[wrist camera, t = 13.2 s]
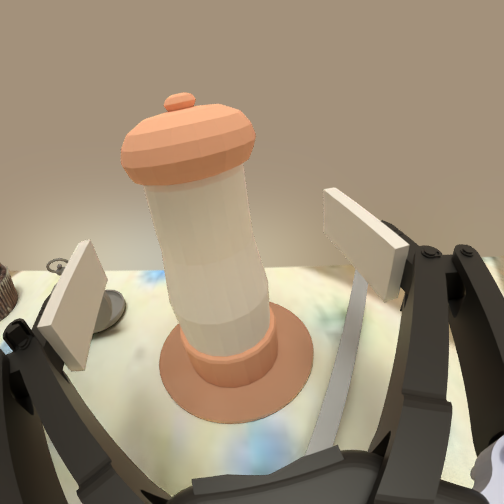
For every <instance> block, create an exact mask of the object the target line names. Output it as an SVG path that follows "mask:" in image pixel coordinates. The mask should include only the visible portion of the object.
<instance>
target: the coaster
mask: <svg viewBox="0 0 504 504" xmlns="http://www.w3.org/2000/svg"><path fill="white" fill-rule="evenodd" d="M269 306H270V307H271V308H272V310H273V313H274V315H275V318H276V327H277V339H278V355H277V358H276V361H275V363H274V365H273V367H272V368H271V369H270V370H269V371H268V372H267V373H266V375H265V376H264V377H262V378H261V379H259V380H257V381H255V382H253V383H251V384H249V385H245V386H240V387H236V388H231V387H219V386H216V385H213V384H211V383H208V382H206V381H205V380H204V379H203V378H201V377H200V376H199V375H198V374H197V372H196V371H195V369H194V367H193V365H192V363H191V361H190V359H189V357H188V355H187V352H186V350H185V348H184V346H183V344H182V341H181V335H180V327H181V326H180V324H178V325H177V326H176V327H175V328H174V329H173V330H172V331H171V333H170V334H169V336H168V337H167V339H166V341H165V343H164V345H163V348H162V350H161V354H160V361H159V368H160V375H161V379H162V382H163V384H164V386H165V388H166V390H167V391H168V393H169V394H170V396H171V397H172V398H173V400H174V401H175V402H176V403H177V404H178V405H179V406H180V407H181V408H183V409H184V410H186V411H187V412H189V413H190V414H192V415H194V416H196V417H198V418H201V419H204V420H207V421H211V422H217V423H226V424H235V423H245V422H250V421H255V420H258V419H261V418H264V417H267V416H269V415H271V414H273V413H275V412H277V411H278V410H280V409H281V408H283V407H285V406H286V405H287V404H288V403H289V402H291V401H292V400H293V399H294V398H295V397H296V396H297V395H298V393H299V392H300V391H301V390H302V388H303V387H304V385H305V384H306V382H307V380H308V377H309V375H310V372H311V368H312V364H313V344H312V340H311V336H310V334H309V332H308V330H307V328H306V327H305V325H304V324H303V322H302V321H301V320H300V319H299V318H298V317H297V316H296V315H294V314H293V313H292V312H290V311H289V310H287V309H286V308H284V307H282V306H280V305H277V304H274V303H272V302H269Z"/></svg>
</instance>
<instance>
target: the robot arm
mask: <svg viewBox="0 0 504 504" xmlns="http://www.w3.org/2000/svg"><path fill="white" fill-rule="evenodd" d="M323 208H324V209H323V215H324V219H323V223H324V224H323V233H324V234H325V235H326V236H327V237H328V238H329V239H330V240H331V241H332V243H333V244H334V245H335V246H336V247H337V248H338V249H339V250H340V251H341V253H342V254H343V255H344V256H345V257H346V258H347V259H348V260H349V262H350V263H351V264H352V265H353V266H354V267H355V269H356V270H357V271H358V272H359V273H360V274H361V276H362V277H363V278H364V279H365V280H366V281H367V283H368V284H369V285H370V286H371V287H372V289H373V290H374V291H375V292H376V293H377V295H378V296H379V297H380V298H381V299H382V301H383V302H384V303H385V302H387V301H390V300H393V299H396V298H398V294H399V290H400V287H401V288H402V289H403V290H404V291H405V295H404V299H403V302H402V306H401V309H400V311H402V316H401V323H400V330H399V336H398V343H397V348H396V354H395V359H394V364H393V369H392V374H391V379H390V383H389V387H388V392H387V396H386V400H385V404H384V407H383V411H382V415H381V418H380V422H379V425H378V428H377V431H376V434H375V436H374V438H373V440H372V442H371V445H370V447H369V450H368V452H367V451H360V450H343V451H340V449H339V447H338V445H336V446H333V447H330V448H327V449H325V450H322V451H319V452H316V453H313V454H310V455H306V456H303V457H301V458H300V459H298V460H296V461H294V462H293V463H291V464H289V465H287V466H285V467H283V468H281V469H279V470H277V471H276V472H274V473H272V474H269V475H229V474H227V475H220V476H213V477H206V478H197V479H192V485H193V486H191V487H188V488H186V489H184V490H182V491H180V492H179V493H177V494H176V495H174V496H173V497H171V496H170V495H168V494H167V493H166V492H165V491H163V490H162V489H160V488H159V487H158V486H156V485H155V484H154V483H153V482H152V481H151V480H150V479H149V478H148V477H147V476H146V475H145V474H144V473H143V472H142V471H141V470H140V469H139V468H138V467H137V466H136V465H135V464H134V463H133V462H132V461H131V460H130V459H129V458H128V457H127V455H126V454H125V453H124V452H123V451H122V450H121V449H120V447H119V446H118V445H117V444H116V443H115V442H114V440H113V439H112V438H111V437H110V436H109V434H108V433H107V432H106V431H105V429H104V428H103V427H102V425H101V424H100V423H99V422H98V420H97V419H96V418H95V416H94V415H93V413H92V412H91V411H90V409H89V408H88V407H87V405H86V404H85V402H84V401H83V399H82V398H81V396H80V395H79V393H78V392H77V390H76V389H75V387H74V386H73V384H72V383H71V381H70V379H69V378H68V376H67V375H66V374H65V372H64V371H63V366H64V363H65V365H66V366H67V367H68V368H69V369H70V371H71V372H72V371H83V370H85V367H86V362H87V357H88V353H89V348H90V344H91V339H92V335H93V331H94V327H95V323H96V319H97V315H98V312H99V308H100V304H101V301H102V297H103V294H104V290H105V287H106V284H107V281H108V279H107V277H106V274H105V272H104V270H103V268H102V266H101V263H100V261H99V259H98V256H97V254H96V251H95V249H94V247H93V244H92V242H91V239H90V240H86V241H82V242H79V244H78V245H77V247H76V249H75V251H74V253H73V254H72V256H71V258H70V260H69V261H68V263H67V265H66V267H65V269H64V271H63V273H62V275H61V277H60V279H59V281H58V283H57V285H56V287H55V289H54V291H53V293H51V294H50V295H49V296H48V297H47V299H46V300H45V301H44V303H43V305H42V307H41V310H40V312H39V314H38V315H39V316H37V318H36V321H35V323H34V325H33V328H32V330H31V329H30V328H29V326H28V325H27V323H26V322H25V321H24V320H23V319H20V318H19V319H16V320H14V321H13V322H11V323H10V324H9V325H8V326H7V327H6V329H5V331H4V333H3V339H4V340H5V342H6V343H7V344H8V346H9V347H10V348H11V349H12V351H13V352H12V353H9V354H7V355H5V354H4V352H3V351H2V350H1V349H0V504H68V502H67V500H66V498H65V495H64V493H63V490H62V488H61V485H60V482H59V480H58V477H57V474H56V471H55V468H54V465H53V462H52V459H51V455H50V452H49V449H48V445H47V441H46V438H45V434H44V430H43V426H44V428H45V430H46V432H47V434H48V436H49V437H50V439H51V441H52V443H53V445H54V447H55V448H56V450H57V452H58V454H59V455H60V457H61V459H62V460H63V462H64V463H65V465H66V467H67V468H68V470H69V471H70V473H71V474H72V476H73V477H74V479H75V480H76V482H77V484H78V485H79V489H78V490H77V495H78V497H79V499H80V500H81V502H82V503H83V504H504V297H503V295H502V293H501V292H500V290H499V288H498V286H497V284H496V282H495V280H494V279H493V277H492V275H491V273H490V272H489V270H488V268H487V267H486V265H485V263H484V262H483V260H482V258H481V257H480V255H479V254H478V252H477V251H476V250H475V249H474V248H472V247H471V246H468V245H457V246H455V249H454V252H453V255H442V253H441V252H440V251H439V250H438V249H436V248H434V247H431V246H418V245H417V244H416V243H415V242H414V241H412V240H411V239H410V238H409V237H407V236H406V235H405V234H404V233H403V232H401V231H400V230H398V229H397V228H396V227H395V226H394V225H392V224H390V223H388V222H385V221H383V220H382V221H380V220H378V219H377V218H376V217H374V216H373V215H372V214H370V213H369V212H368V211H366V210H365V209H364V208H363V207H361V206H360V205H359V204H357V203H356V202H355V201H353V200H352V199H350V198H349V197H348V196H346V195H345V194H343V193H342V192H341V191H339V190H338V189H337V188H329V189H324V190H323ZM449 325H450V328H451V332H452V335H453V339H454V342H455V346H456V350H457V354H458V358H459V362H460V366H461V371H462V376H463V380H464V385H465V391H466V396H467V402H468V408H469V415H470V423H471V431H472V437H473V443H474V447H475V451H476V455H477V459H476V462H475V466H474V467H473V468H472V470H471V473H470V476H471V478H472V479H473V480H474V481H475V482H474V486H473V488H472V489H470V488H466V487H463V486H460V485H456V484H453V483H450V482H447V481H444V480H441V479H440V478H441V474H442V470H443V466H444V461H445V456H446V451H447V446H448V440H449V434H450V427H451V419H452V404H451V402H448V401H447V400H446V392H447V380H448V361H449ZM42 424H43V425H42Z"/></svg>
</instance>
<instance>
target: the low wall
mask: <svg viewBox="0 0 504 504" xmlns="http://www.w3.org/2000/svg"><path fill="white" fill-rule="evenodd" d="M367 287H368V283H367V281H366V280H365V279H364V278H363V277H362V276H361V274H360V273H359V272H358V271H357V270H355V275H354V280H353V286H352V291H351V296H350V301H349V306H348V310H347V315H346V319H345V324H344V328H343V332H342V336H341V340H340V344H339V348H338V352H337V356H336V360H335V364H334V367H333V371H332V374H331V378H330V381H329V385H328V388H327V391H326V395H325V398H324V401H323V404H322V407H321V410H320V413H319V417H318V419H317V422H316V425H315V428H314V431H313V434H312V437H311V439H310V442H309V445H308V448H307V450H306V453H305V456H306V455H310V454H313V453H316V452H319V451H322V450H325V449H327V448H330V447H333V444H334V440H335V437H336V434H337V431H338V427H339V424H340V420H341V417H342V413H343V409H344V406H345V402H346V398H347V394H348V390H349V386H350V382H351V377H352V373H353V368H354V364H355V359H356V354H357V349H358V344H359V338H360V333H361V327H362V321H363V315H364V308H365V302H366V294H367Z"/></svg>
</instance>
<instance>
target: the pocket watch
mask: <svg viewBox="0 0 504 504" xmlns="http://www.w3.org/2000/svg"><path fill="white" fill-rule="evenodd" d="M55 261H64V262H66V263H68V260H66V259H62V258H58V259H53V260H51V261H50V262H49V263H48V264H47V266H46V267H47V270H48V271H50V272H52V273H57V274H58V275H62V273H63V271H64V269H65V267H62V265H61V264H58V266H57V268H58V269H57V271H54V270H51V269H50V268H49V265H50V264H51V263H52V262H55ZM56 285H57V284H56ZM56 285H55V286H54V288H53V290H52V292H51V293H53V291H54V289H55V287H56ZM124 309H125V300H124V298H123V296H122V294H121V293H120V292H118V291H115V290H104V294H103V297H102V301H101V304H100V308H99V312H98V315H97V319H96V323H95V327H94V331H93V333H96V332H100V331H102V330H105V329H107V328H109V327H110V326H112V325H113V324H115V322H116V321H117V320H118V319H119V318H120V317H121V315H122V313H123V312H124Z"/></svg>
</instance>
